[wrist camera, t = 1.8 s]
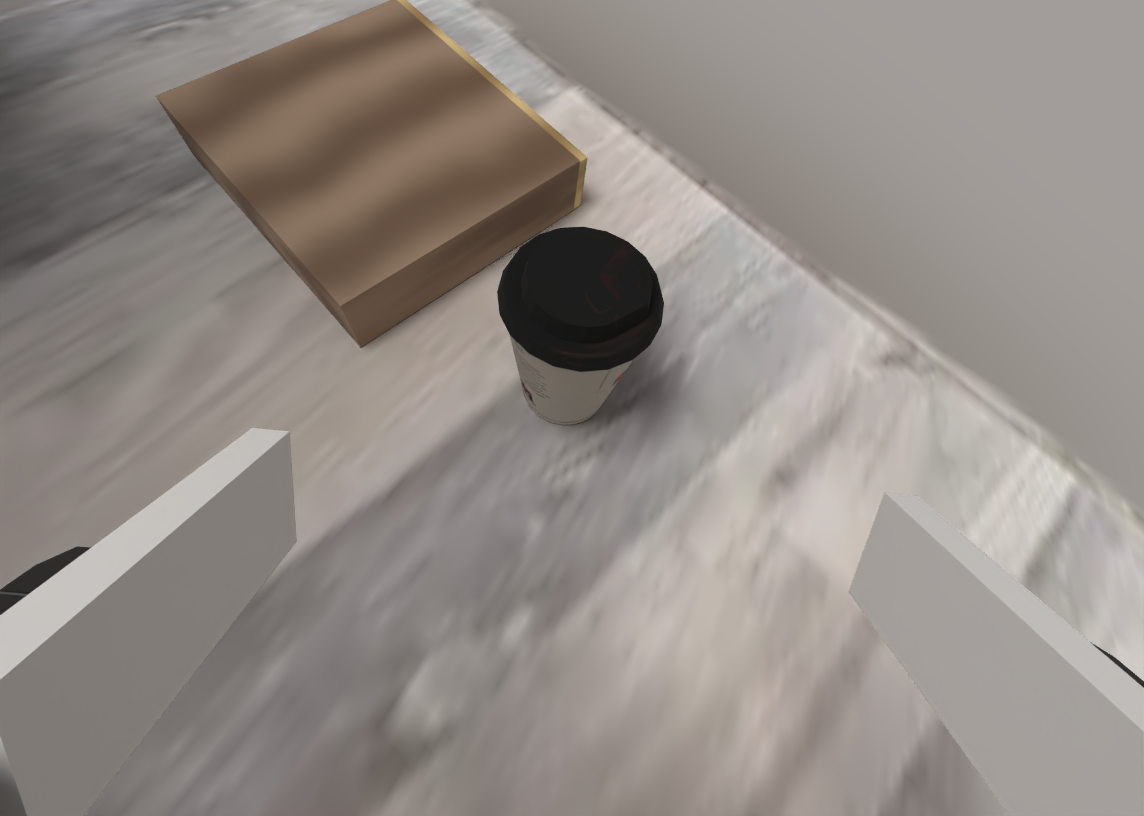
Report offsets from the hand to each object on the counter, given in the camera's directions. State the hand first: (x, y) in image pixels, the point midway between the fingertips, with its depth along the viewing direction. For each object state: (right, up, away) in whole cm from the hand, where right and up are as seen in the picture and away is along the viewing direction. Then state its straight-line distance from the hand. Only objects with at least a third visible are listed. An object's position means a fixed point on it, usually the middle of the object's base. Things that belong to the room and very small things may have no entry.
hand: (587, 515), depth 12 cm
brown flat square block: (-12, +17, +23) cm, 31 cm away
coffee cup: (-1, +4, +19) cm, 19 cm away
